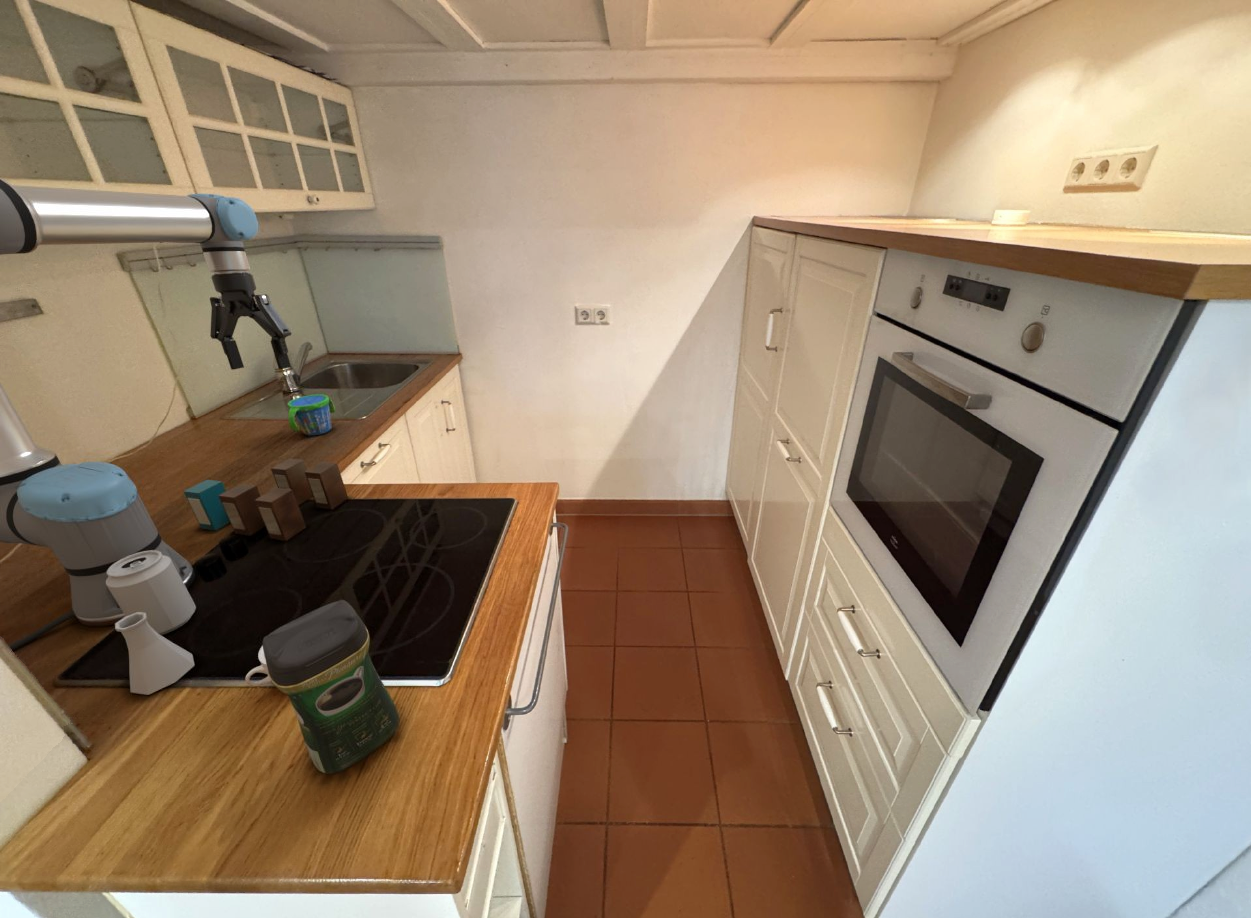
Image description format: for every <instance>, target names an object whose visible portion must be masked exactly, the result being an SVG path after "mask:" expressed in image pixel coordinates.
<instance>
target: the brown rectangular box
mask: <svg viewBox="0 0 1251 918" xmlns="http://www.w3.org/2000/svg"><path fill="white" fill-rule="evenodd" d="M307 470H308V468H307V465H306V461H305V460H304V459H301V458H288V459H286V460H284V461H281V462H280V463H278V464H276V465H274V466H273V467H270V471H271V474H272V476H273V478H274V481H275V484H276V486H277V488H283V489H291V490H293V493H294V496H295V498H296V501H297V504H298V506H300V505H301V504H303V503H304V502H306V501H308V500H310V499H311V498H313V495H312V492H311V489H310V487H309V484H308V481H307V478H306V475H305V471H307Z"/></svg>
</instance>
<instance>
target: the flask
mask: <svg viewBox="0 0 1251 918" xmlns="http://www.w3.org/2000/svg"><path fill="white" fill-rule="evenodd" d="M114 627H115V628H114V629H115V631H116V632H119V633H120V632H121V634H122V637H123V638H124V639H125V643H126V647H127V649H128V659H129V660H128V661H129V662H128V663H129V666H128V667H129V687H130V690H129V691H130V693H131V694H139V695H147V696H148V695H151V694H153V693H156V692H157V691H159V690H162V689H163V688H166V687H169V686H171V685H172V684H174V683H176V682H178V681H179V680H180V679H181V678H182V677H183V676H185V674H187V673H188V672H189V671H190V670H191V669H193V668H194V667H195V661H194V656H193V654H192V653H191V652H189V651H187V650H186V649H184V648H183V647H181V646H179V645H178V644H176V643H173V641H171V640H169V639H167V638H166V637H164V636H163V635H159V634H158V633H157V632H156V631H155V630H154V629H153V628H152V627H151V626H150V625H149V624H148V622H147V616H146V613H142V612H136V613H134V614H131V615H129V616H126V617H124V618H123V619H121V620H120V621H118V622H117V623H115V624H114Z"/></svg>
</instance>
